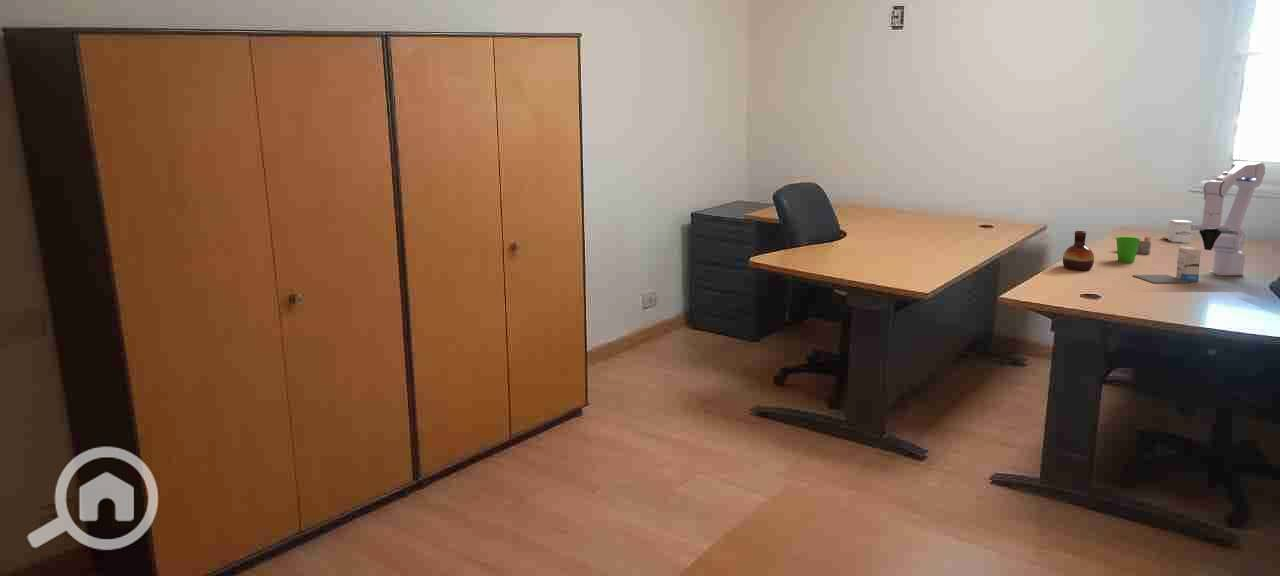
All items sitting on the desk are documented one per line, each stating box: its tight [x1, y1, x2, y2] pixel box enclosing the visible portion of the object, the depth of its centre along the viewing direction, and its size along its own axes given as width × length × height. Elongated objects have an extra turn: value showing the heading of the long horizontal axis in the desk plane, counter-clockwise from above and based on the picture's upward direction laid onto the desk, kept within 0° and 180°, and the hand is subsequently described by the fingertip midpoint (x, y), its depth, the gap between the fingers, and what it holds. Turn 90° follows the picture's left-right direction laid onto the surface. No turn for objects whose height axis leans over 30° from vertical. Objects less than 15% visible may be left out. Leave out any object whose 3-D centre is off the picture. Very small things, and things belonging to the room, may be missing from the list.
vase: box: [1062, 230, 1095, 272], centre depth 355 cm, size 11×11×15 cm
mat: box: [1132, 274, 1191, 284], centre depth 336 cm, size 13×15×1 cm
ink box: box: [1175, 246, 1202, 282], centre depth 335 cm, size 9×5×12 cm, turn 168°
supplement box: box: [1166, 219, 1194, 244], centre depth 407 cm, size 7×7×13 cm
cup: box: [1115, 236, 1142, 264], centre depth 366 cm, size 9×9×11 cm
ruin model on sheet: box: [1136, 236, 1152, 255], centre depth 384 cm, size 11×3×10 cm, turn 59°
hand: (1207, 249), depth 337 cm, fingers closed
